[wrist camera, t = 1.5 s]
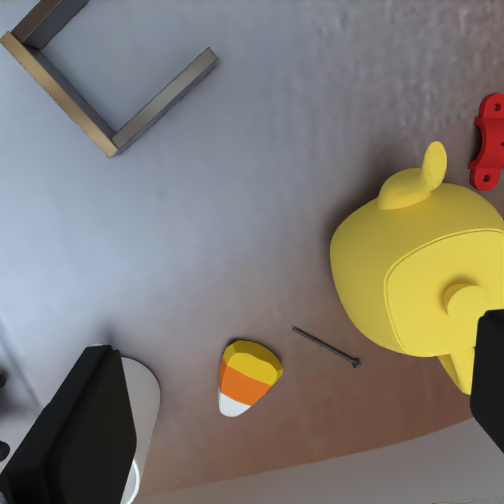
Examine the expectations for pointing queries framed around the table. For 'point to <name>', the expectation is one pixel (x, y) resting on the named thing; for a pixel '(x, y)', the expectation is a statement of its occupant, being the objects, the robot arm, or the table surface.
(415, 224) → the teapot
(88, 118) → the dock
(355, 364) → the screw
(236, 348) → the candy corn
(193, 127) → the table surface
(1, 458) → the toy ball
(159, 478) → the table surface
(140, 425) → the mug
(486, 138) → the pipe clamp
